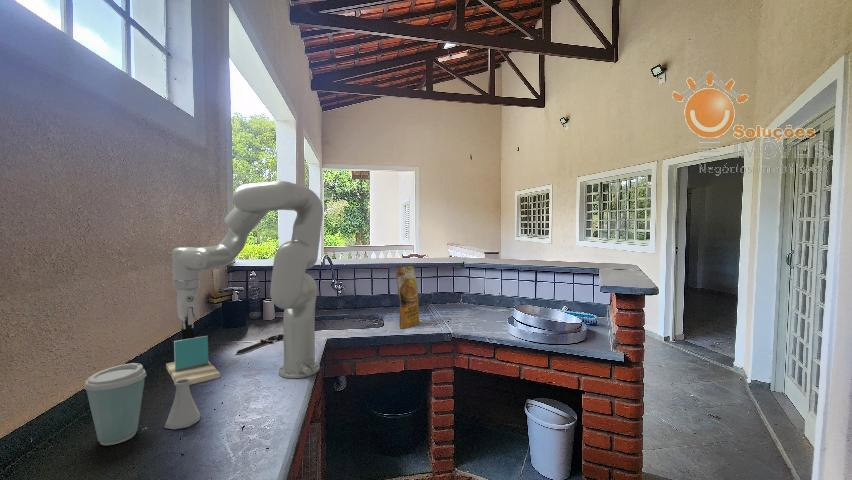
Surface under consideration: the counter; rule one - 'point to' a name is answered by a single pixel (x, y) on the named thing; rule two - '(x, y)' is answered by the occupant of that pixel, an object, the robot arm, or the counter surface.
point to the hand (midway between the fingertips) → (187, 340)
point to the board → (193, 373)
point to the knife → (260, 344)
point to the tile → (191, 352)
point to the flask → (182, 407)
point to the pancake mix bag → (407, 296)
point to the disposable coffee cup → (116, 401)
